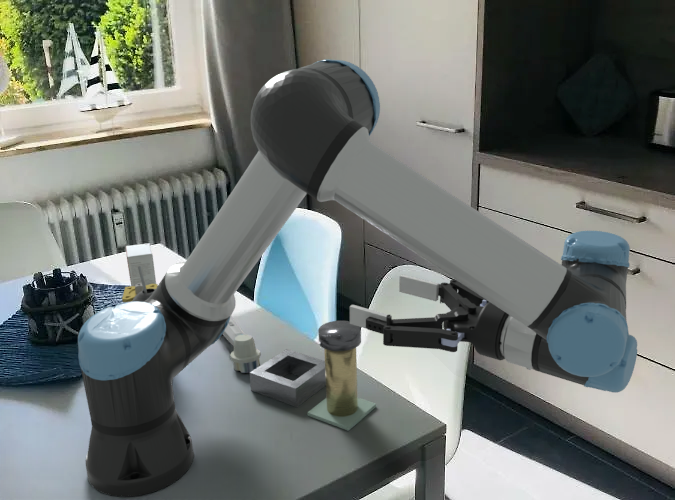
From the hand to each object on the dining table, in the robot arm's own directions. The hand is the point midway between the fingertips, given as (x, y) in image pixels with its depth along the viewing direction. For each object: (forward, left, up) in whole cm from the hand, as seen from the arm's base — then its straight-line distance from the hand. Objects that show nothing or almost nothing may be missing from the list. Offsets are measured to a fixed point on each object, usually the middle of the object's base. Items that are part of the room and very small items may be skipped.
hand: (376, 297), depth 108 cm
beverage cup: (-8, +43, -21) cm, 48 cm away
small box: (+15, +74, -21) cm, 78 cm away
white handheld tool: (+6, +38, -21) cm, 44 cm away
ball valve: (+4, +60, -21) cm, 63 cm away
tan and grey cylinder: (-2, +6, -20) cm, 21 cm away
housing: (0, +18, -21) cm, 27 cm away
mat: (-2, +6, -21) cm, 22 cm away
